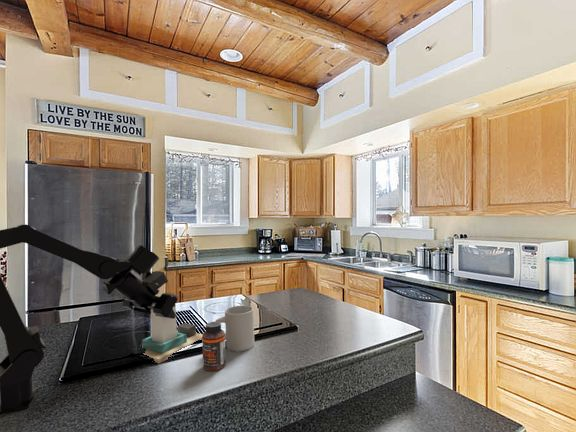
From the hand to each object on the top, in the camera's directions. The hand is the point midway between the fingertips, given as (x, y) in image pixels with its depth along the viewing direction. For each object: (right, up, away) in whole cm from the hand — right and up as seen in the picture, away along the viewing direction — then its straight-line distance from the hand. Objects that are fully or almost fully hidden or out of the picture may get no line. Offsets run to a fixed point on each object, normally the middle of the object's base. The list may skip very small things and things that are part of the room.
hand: (167, 315), depth 98 cm
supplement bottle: (+17, -10, -13) cm, 24 cm away
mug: (+21, -9, -1) cm, 23 cm away
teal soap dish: (+1, -10, +1) cm, 10 cm away
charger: (0, -9, -1) cm, 9 cm away
